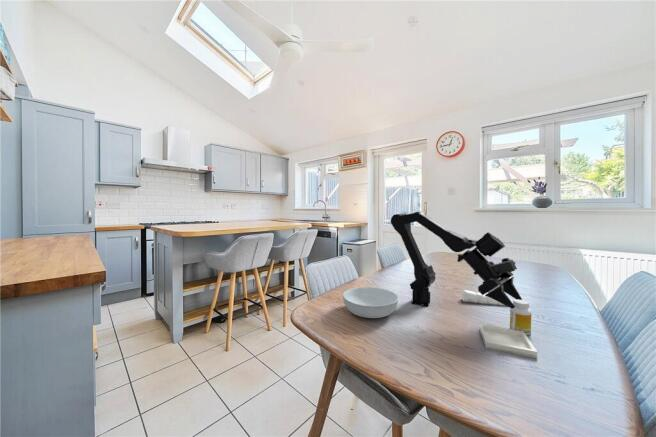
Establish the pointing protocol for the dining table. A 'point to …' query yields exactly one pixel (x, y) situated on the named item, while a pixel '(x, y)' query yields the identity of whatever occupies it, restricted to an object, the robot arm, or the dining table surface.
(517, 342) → the dish
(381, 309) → the serving bowl
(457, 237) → the robot arm
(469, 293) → the unicorn horn
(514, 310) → the supplement bottle
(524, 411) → the dining table surface
